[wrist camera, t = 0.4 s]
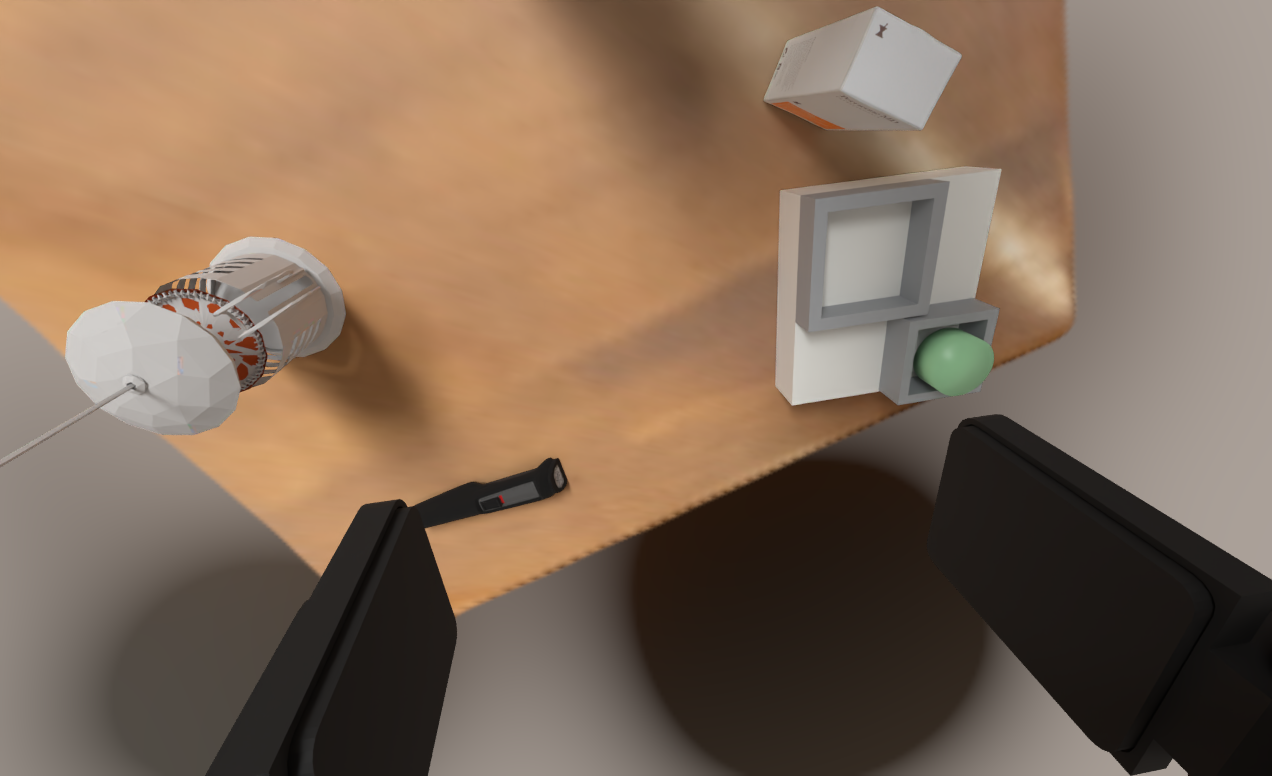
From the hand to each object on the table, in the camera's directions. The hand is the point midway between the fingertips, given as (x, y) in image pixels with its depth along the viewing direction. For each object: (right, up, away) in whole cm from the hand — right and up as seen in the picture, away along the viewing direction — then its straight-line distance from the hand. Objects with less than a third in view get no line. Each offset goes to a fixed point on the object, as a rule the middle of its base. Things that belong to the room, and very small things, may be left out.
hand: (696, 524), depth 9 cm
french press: (-28, +10, +31) cm, 43 cm away
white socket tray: (+19, +12, +37) cm, 44 cm away
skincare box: (+12, +25, +30) cm, 41 cm away
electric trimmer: (-15, -8, +42) cm, 46 cm away
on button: (+25, +5, +34) cm, 43 cm away
